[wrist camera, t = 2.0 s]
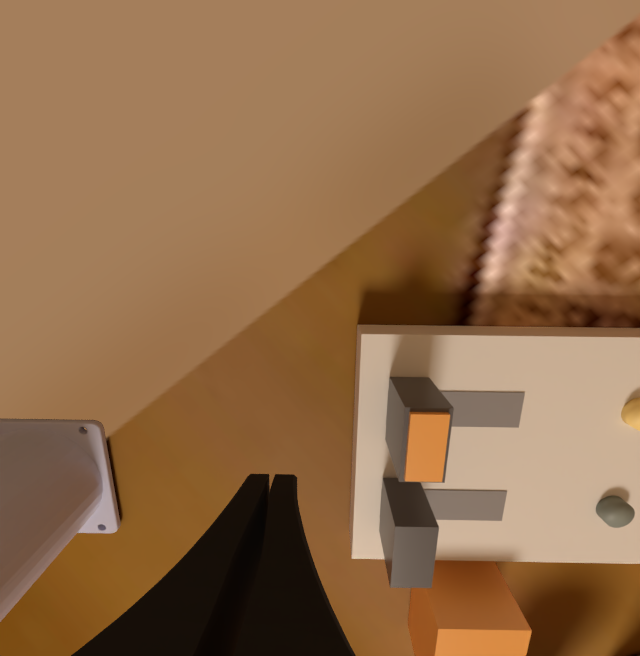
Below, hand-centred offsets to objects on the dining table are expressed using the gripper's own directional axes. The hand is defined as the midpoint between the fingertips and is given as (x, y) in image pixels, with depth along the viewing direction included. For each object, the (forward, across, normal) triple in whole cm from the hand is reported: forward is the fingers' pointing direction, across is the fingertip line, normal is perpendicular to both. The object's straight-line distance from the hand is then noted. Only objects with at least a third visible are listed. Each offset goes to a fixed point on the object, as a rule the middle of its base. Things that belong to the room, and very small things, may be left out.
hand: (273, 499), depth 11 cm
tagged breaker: (+6, -6, 0) cm, 9 cm away
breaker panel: (+8, -12, +3) cm, 15 cm away
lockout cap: (+8, -10, +15) cm, 20 cm away
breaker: (+6, -6, +6) cm, 11 cm away
